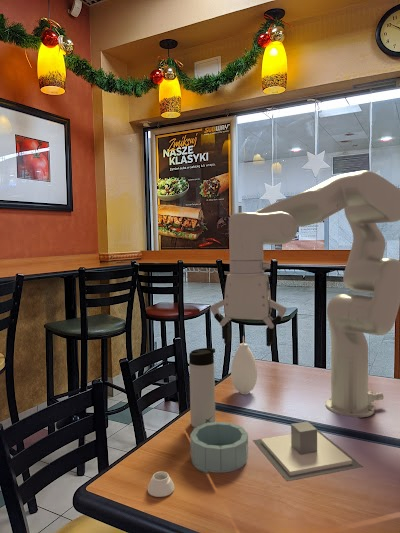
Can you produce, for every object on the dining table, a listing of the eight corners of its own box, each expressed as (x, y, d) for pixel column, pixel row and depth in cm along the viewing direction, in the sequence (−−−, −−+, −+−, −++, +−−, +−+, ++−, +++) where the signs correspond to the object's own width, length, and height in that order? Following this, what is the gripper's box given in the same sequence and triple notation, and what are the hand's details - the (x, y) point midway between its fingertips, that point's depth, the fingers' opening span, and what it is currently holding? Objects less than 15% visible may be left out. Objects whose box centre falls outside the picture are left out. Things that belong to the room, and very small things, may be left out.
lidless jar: (179, 491, 78) (164, 480, 82) (179, 476, 78) (164, 465, 82) (157, 502, 75) (142, 489, 79) (156, 486, 74) (142, 474, 78)
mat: (317, 432, 100) (317, 429, 100) (363, 469, 83) (363, 466, 83) (252, 442, 95) (252, 440, 95) (286, 484, 79) (286, 481, 79)
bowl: (236, 442, 96) (235, 419, 96) (256, 469, 84) (256, 443, 84) (186, 450, 93) (185, 426, 92) (200, 479, 81) (199, 452, 81)
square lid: (315, 433, 98) (315, 409, 98) (352, 463, 84) (352, 436, 84) (261, 442, 94) (260, 417, 94) (290, 475, 81) (289, 446, 80)
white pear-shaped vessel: (261, 391, 127) (260, 334, 126) (250, 400, 121) (249, 339, 120) (238, 387, 132) (237, 331, 131) (227, 395, 125) (225, 336, 124)
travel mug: (214, 433, 101) (212, 352, 99) (188, 431, 102) (186, 351, 101) (218, 422, 107) (217, 346, 105) (193, 420, 108) (191, 345, 107)
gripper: (288, 266, 93) (289, 341, 94) (214, 267, 98) (216, 337, 100) (283, 269, 86) (284, 350, 87) (204, 269, 91) (206, 345, 93)
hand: (248, 343), depth 93 cm, fingers open, 9 cm apart
